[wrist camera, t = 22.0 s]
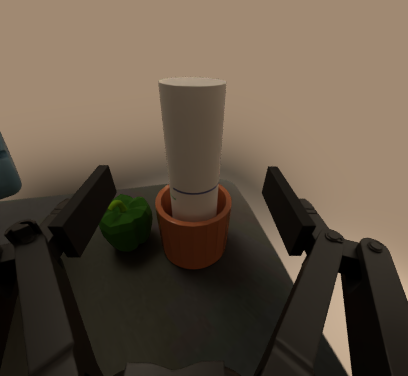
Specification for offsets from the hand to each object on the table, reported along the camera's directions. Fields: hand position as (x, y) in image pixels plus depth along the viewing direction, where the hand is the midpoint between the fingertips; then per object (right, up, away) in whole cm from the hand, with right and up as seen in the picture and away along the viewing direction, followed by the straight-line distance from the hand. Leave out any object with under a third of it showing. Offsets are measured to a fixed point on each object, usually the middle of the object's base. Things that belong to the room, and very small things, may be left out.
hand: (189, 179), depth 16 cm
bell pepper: (-12, -10, +20) cm, 25 cm away
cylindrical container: (0, -10, +19) cm, 21 cm away
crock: (-1, -10, +19) cm, 22 cm away
